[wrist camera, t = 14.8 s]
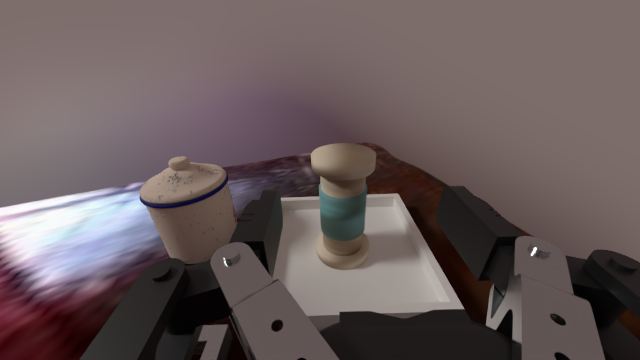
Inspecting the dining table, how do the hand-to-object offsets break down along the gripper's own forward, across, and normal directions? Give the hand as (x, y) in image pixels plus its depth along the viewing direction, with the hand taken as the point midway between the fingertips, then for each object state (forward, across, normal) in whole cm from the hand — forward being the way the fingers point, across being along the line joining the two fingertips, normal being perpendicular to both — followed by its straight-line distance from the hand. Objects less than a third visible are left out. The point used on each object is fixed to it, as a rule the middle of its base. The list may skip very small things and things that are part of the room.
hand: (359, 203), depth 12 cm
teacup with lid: (+15, +18, +15) cm, 28 cm away
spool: (+10, 0, +14) cm, 17 cm away
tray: (+11, -1, +15) cm, 18 cm away
